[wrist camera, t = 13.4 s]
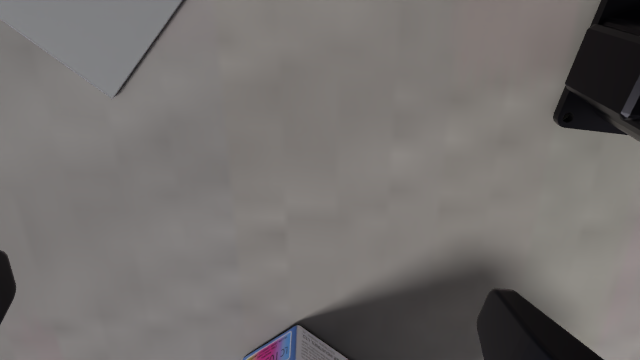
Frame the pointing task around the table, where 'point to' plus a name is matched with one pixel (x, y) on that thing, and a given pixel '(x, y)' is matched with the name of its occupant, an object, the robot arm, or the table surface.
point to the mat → (92, 33)
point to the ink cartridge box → (295, 348)
